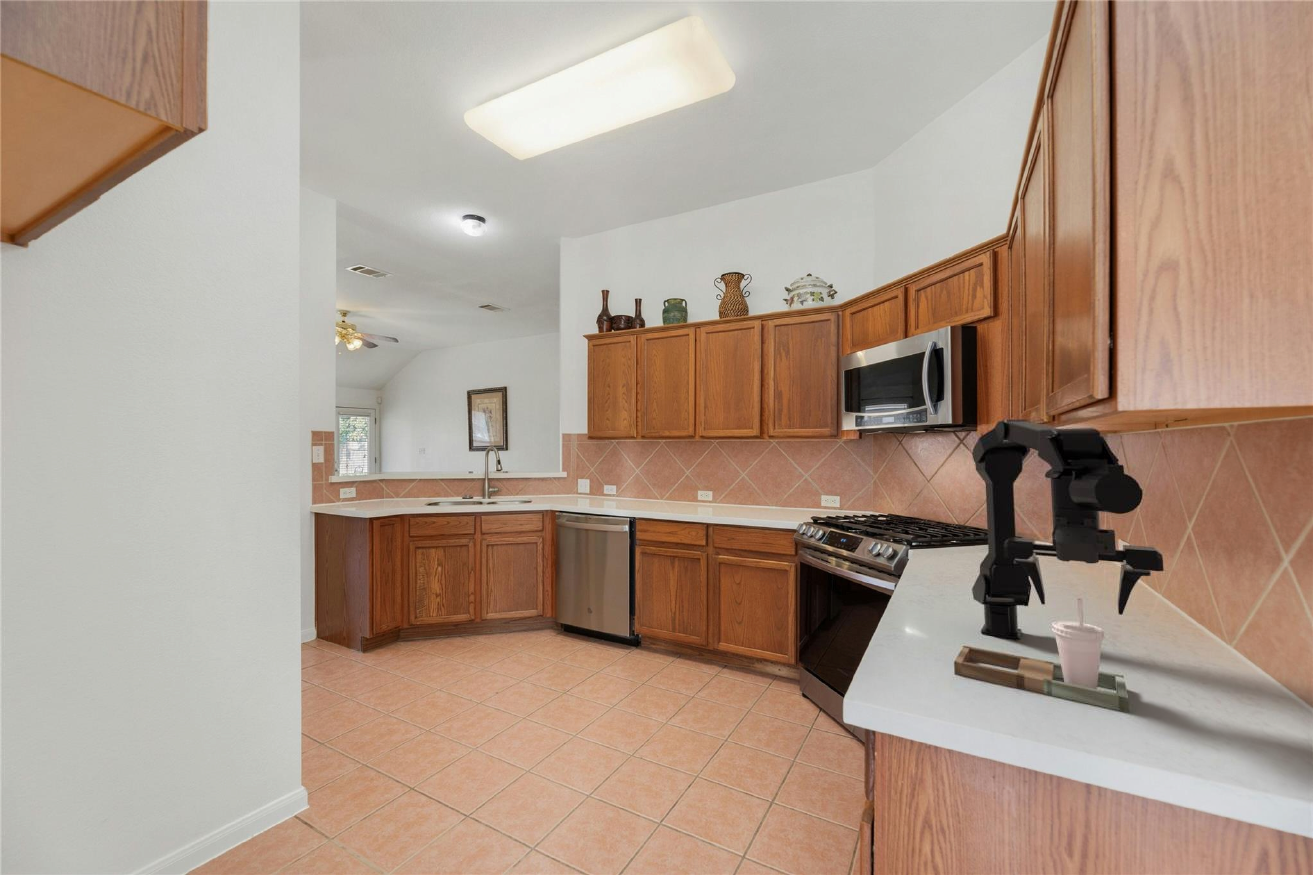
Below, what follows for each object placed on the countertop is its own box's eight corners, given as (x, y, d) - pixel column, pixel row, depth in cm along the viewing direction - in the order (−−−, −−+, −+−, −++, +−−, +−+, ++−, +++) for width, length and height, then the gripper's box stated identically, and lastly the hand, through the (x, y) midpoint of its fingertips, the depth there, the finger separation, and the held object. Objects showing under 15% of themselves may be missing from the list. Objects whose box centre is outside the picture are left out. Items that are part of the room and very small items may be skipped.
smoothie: (1118, 701, 75) (1113, 605, 76) (1069, 698, 77) (1064, 603, 77) (1091, 683, 82) (1086, 594, 82) (1045, 680, 83) (1041, 592, 84)
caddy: (964, 656, 93) (963, 645, 93) (1124, 688, 80) (1123, 675, 80) (954, 673, 86) (954, 661, 86) (1129, 712, 72) (1128, 697, 72)
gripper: (997, 509, 80) (1002, 610, 79) (1165, 515, 68) (1172, 634, 67) (1005, 504, 89) (1009, 595, 88) (1155, 509, 77) (1161, 614, 76)
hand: (1080, 608), depth 79 cm, fingers open, 9 cm apart
